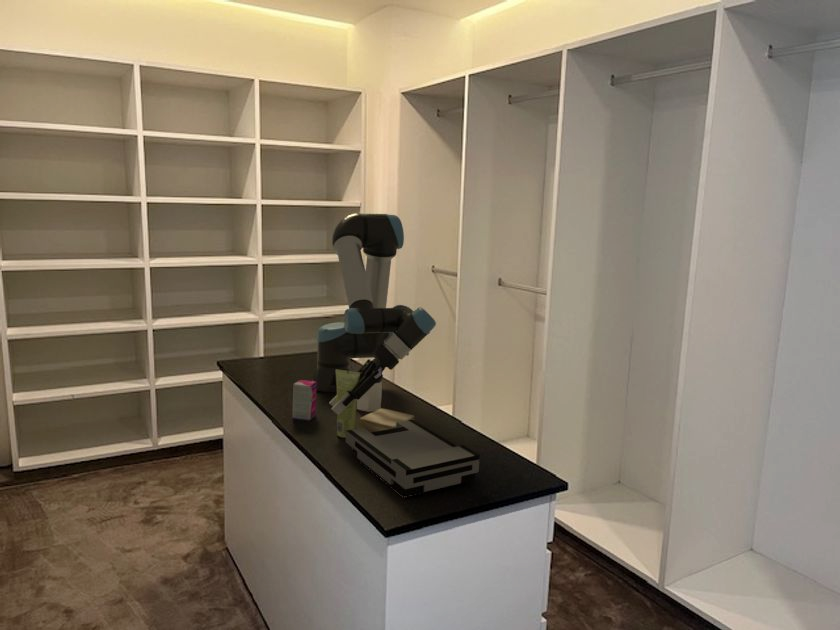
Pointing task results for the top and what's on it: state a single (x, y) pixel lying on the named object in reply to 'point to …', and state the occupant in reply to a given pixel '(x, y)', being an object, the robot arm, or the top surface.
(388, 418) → the oak block
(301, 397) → the supplement box
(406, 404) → the top surface
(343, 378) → the tube
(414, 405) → the top surface
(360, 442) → the game console
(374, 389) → the jar
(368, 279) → the robot arm
